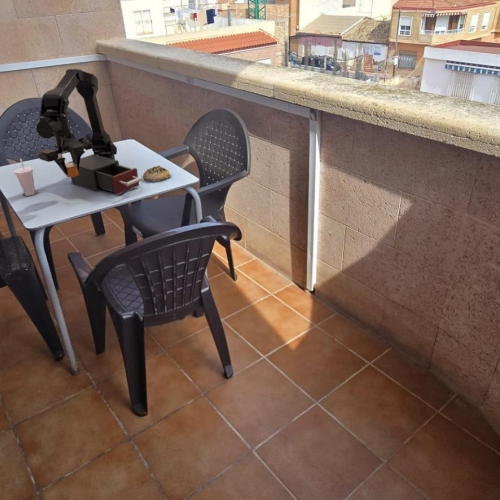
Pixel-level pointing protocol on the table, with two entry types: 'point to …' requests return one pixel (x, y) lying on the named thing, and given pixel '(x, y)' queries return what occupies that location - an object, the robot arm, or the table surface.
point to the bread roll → (156, 174)
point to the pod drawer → (117, 178)
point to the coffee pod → (72, 169)
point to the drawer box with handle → (91, 170)
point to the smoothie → (26, 179)
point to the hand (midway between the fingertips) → (71, 172)
